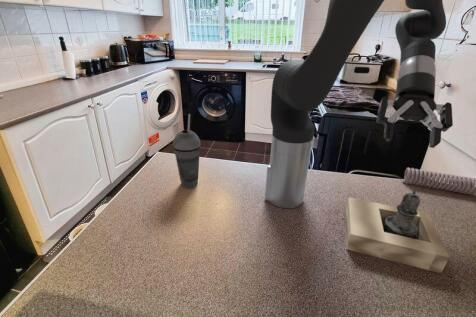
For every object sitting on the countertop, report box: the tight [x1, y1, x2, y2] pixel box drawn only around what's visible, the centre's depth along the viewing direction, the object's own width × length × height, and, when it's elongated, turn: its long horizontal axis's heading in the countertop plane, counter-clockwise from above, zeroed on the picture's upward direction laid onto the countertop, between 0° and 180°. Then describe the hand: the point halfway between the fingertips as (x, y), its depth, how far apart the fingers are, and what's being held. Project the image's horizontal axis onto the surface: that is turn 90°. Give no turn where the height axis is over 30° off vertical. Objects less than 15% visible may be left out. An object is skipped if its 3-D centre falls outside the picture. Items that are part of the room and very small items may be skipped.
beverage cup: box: [172, 113, 202, 189], centre depth 68 cm, size 7×7×20 cm
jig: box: [344, 197, 450, 274], centre depth 54 cm, size 16×13×4 cm
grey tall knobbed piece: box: [383, 190, 421, 238], centre depth 52 cm, size 6×6×12 cm
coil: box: [401, 167, 476, 196], centre depth 73 cm, size 5×5×18 cm
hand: (410, 143), depth 57 cm, fingers open, 8 cm apart
